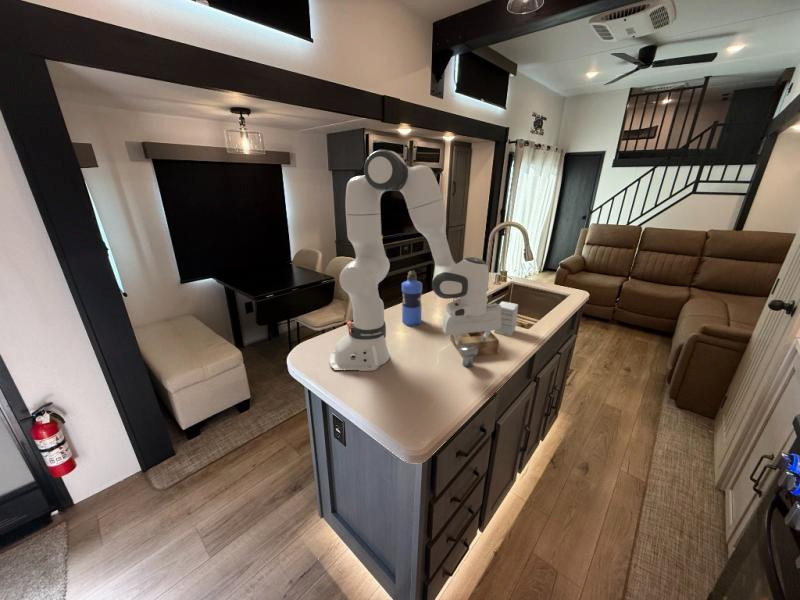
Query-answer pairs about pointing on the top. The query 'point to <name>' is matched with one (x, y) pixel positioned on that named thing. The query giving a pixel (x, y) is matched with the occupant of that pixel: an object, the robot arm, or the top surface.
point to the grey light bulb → (468, 354)
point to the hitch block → (478, 342)
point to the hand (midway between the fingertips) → (471, 342)
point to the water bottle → (411, 300)
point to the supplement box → (508, 318)
